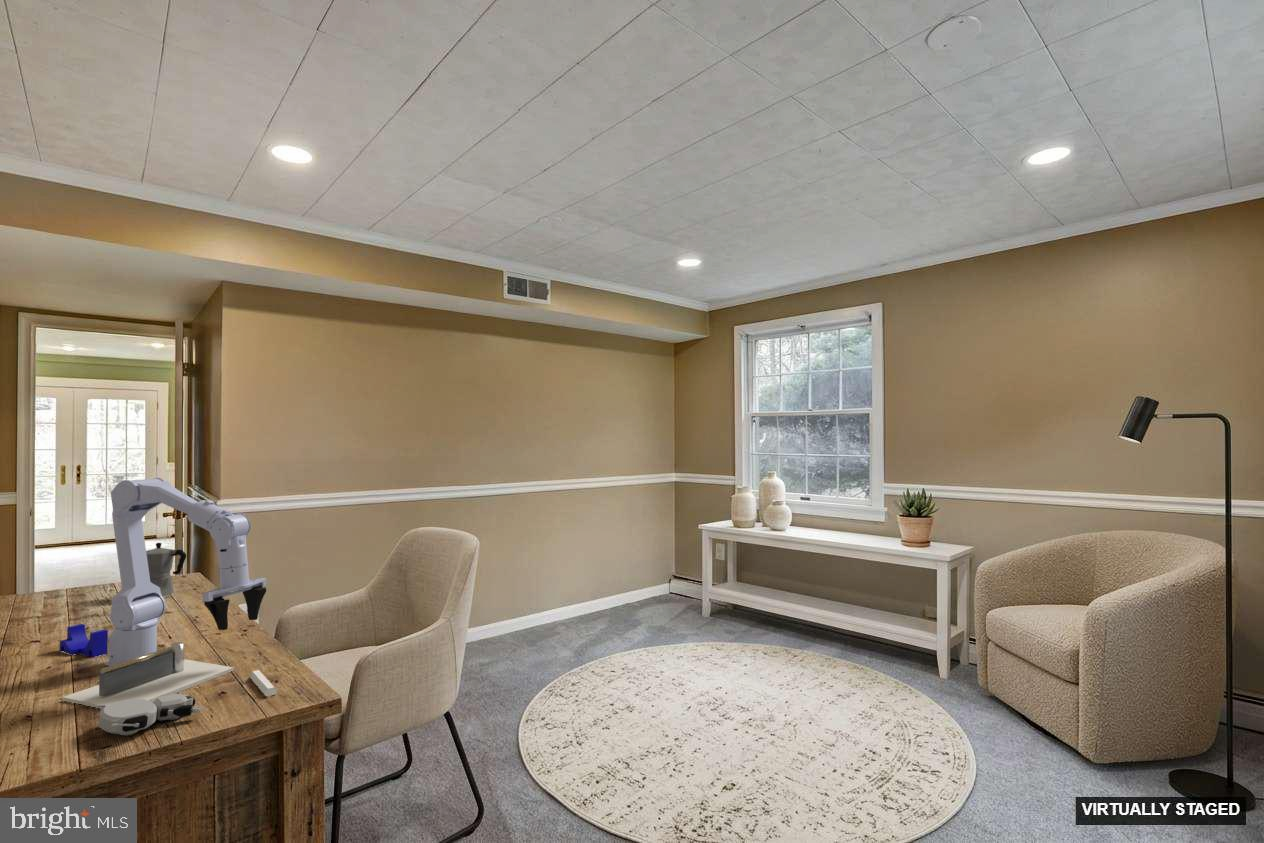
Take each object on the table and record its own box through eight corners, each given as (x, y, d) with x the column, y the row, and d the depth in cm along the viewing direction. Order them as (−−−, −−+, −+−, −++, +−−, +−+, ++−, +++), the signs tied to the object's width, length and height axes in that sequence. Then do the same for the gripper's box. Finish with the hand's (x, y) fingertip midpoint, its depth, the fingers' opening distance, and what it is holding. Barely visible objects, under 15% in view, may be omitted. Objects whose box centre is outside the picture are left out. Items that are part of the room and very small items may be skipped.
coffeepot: (126, 600, 208) (127, 545, 208) (146, 593, 217) (147, 540, 217) (176, 599, 209) (177, 545, 209) (193, 592, 218) (194, 540, 219)
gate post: (168, 675, 144) (168, 644, 145) (178, 672, 147) (179, 641, 147) (175, 677, 144) (176, 646, 144) (186, 673, 146) (186, 642, 146)
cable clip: (59, 652, 159) (60, 628, 160) (81, 647, 164) (81, 623, 164) (85, 660, 154) (86, 635, 155) (107, 654, 159) (107, 630, 159)
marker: (253, 679, 145) (272, 700, 134) (244, 676, 144) (263, 697, 133) (259, 667, 146) (279, 687, 135) (250, 665, 145) (270, 684, 134)
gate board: (62, 701, 131) (62, 697, 131) (178, 661, 153) (178, 658, 153) (122, 714, 125) (122, 709, 125) (233, 670, 148) (233, 667, 148)
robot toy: (184, 707, 131) (90, 727, 119) (186, 684, 131) (93, 702, 120) (204, 725, 123) (105, 748, 111) (206, 700, 123) (108, 721, 112)
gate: (99, 695, 131) (99, 668, 131) (167, 671, 144) (168, 646, 144) (104, 696, 130) (104, 669, 130) (172, 672, 143) (173, 647, 144)
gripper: (216, 573, 141) (220, 634, 140) (273, 559, 154) (278, 615, 154) (194, 573, 143) (198, 634, 143) (252, 560, 157) (257, 615, 156)
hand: (238, 624), depth 149 cm, fingers open, 7 cm apart
